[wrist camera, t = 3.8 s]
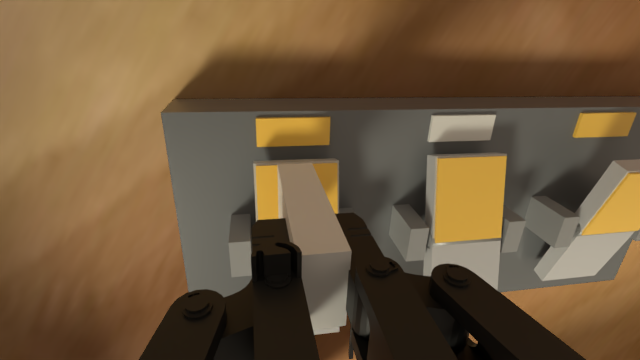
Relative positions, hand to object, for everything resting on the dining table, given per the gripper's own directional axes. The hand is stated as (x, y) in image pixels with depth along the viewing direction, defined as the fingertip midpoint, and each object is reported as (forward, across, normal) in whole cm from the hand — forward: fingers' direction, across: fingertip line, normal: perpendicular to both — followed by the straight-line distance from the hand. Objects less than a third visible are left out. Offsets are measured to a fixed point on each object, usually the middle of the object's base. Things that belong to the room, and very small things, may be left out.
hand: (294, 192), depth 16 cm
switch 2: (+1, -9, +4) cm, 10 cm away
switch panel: (+6, -9, +4) cm, 11 cm away
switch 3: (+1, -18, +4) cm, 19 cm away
